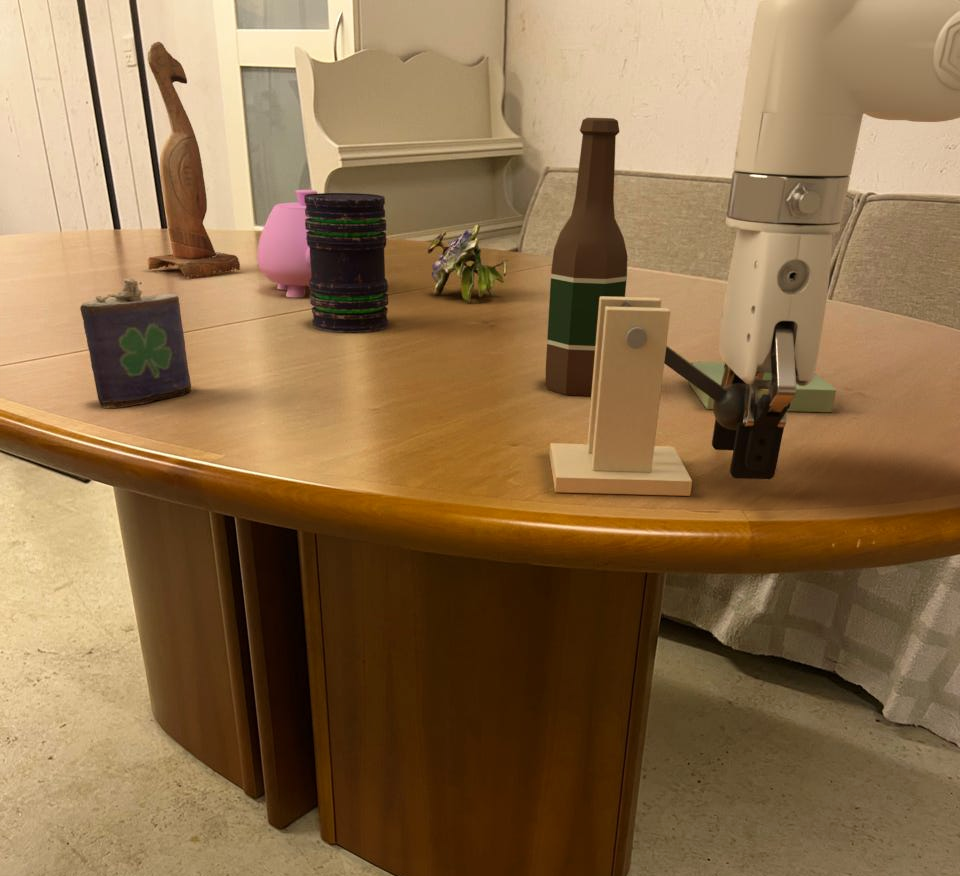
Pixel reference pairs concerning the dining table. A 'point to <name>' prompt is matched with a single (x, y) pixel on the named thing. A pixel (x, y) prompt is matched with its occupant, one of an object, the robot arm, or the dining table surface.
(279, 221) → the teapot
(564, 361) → the beer bottle
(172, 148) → the bird sculpture
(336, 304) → the storage jar
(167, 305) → the flask
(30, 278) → the dining table surface
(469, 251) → the passion flower
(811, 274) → the robot arm
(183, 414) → the dining table surface
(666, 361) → the lever
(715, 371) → the button box
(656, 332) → the bracket
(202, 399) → the dining table surface
